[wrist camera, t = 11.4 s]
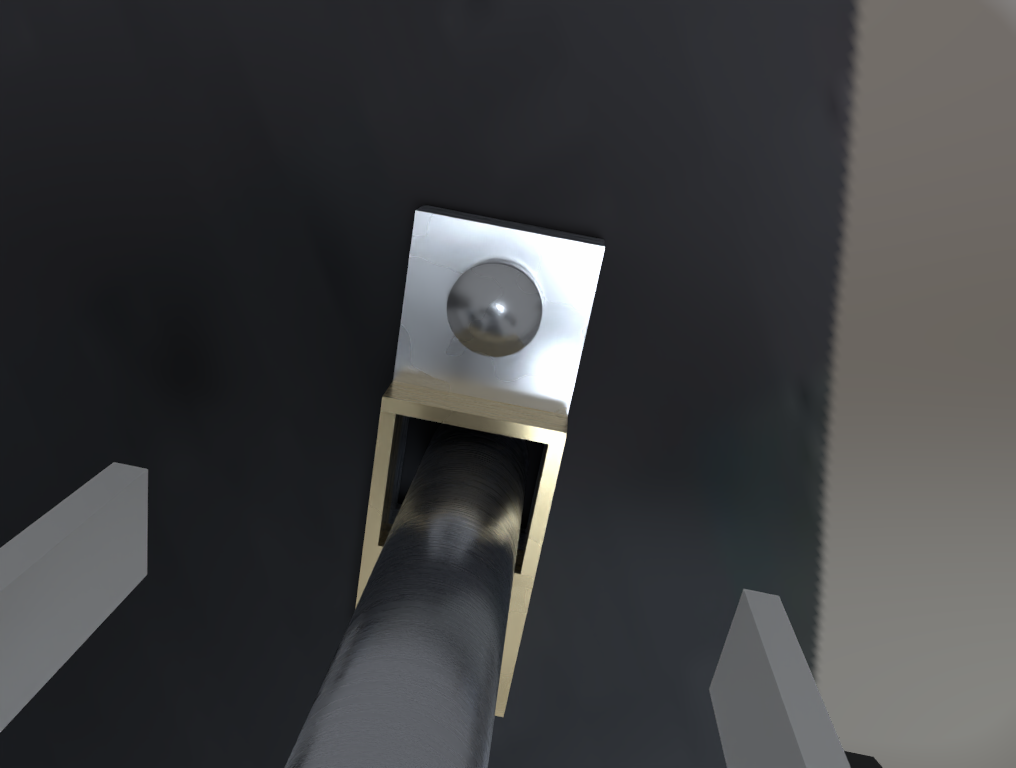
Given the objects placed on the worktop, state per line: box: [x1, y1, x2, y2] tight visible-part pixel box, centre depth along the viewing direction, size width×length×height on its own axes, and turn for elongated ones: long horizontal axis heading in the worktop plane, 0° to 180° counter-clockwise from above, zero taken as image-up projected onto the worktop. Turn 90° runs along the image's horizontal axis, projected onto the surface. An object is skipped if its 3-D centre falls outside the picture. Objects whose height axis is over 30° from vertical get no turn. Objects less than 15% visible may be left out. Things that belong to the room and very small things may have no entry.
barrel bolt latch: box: [355, 205, 605, 717], centre depth 21 cm, size 5×14×3 cm, turn 170°
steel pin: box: [285, 423, 529, 768], centre depth 16 cm, size 3×3×14 cm
